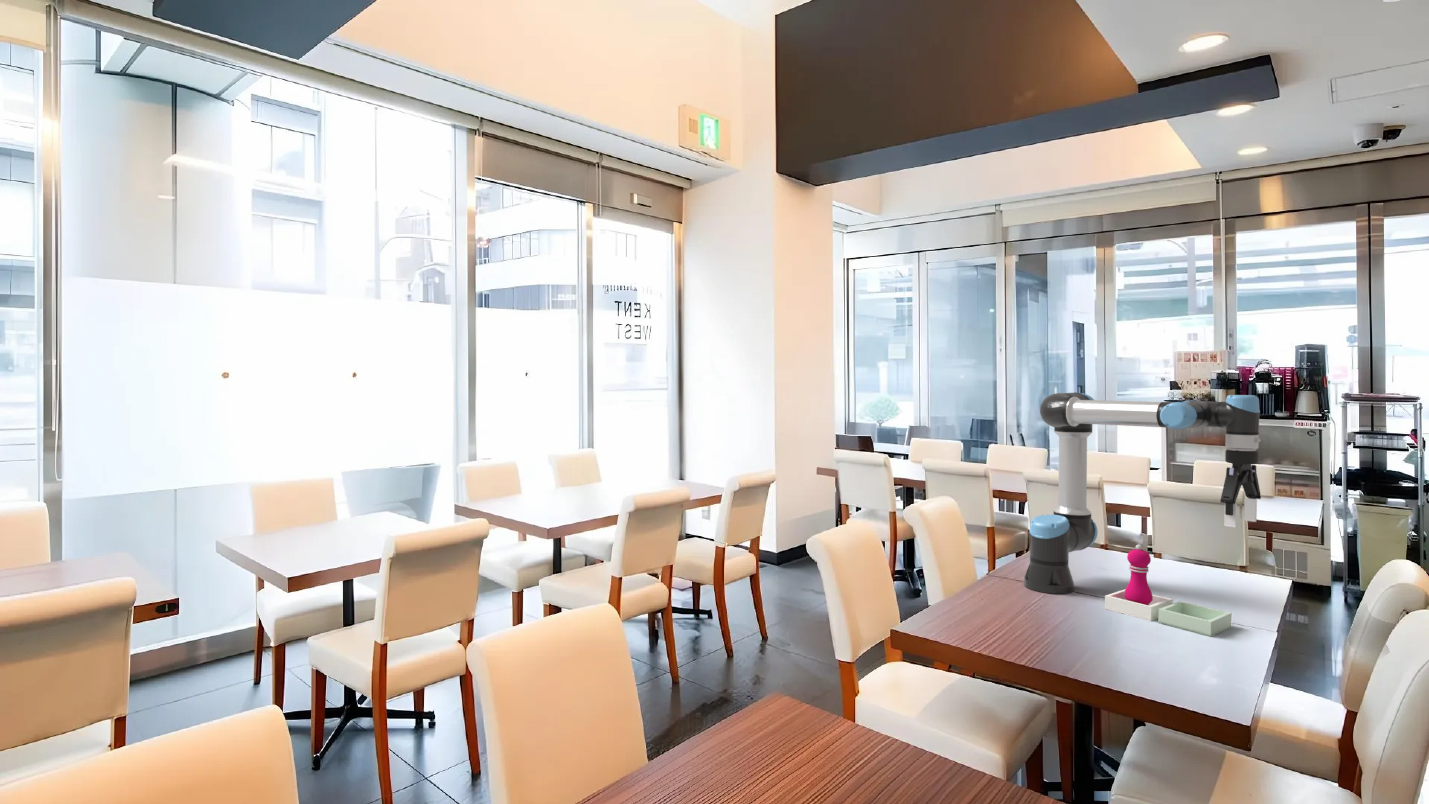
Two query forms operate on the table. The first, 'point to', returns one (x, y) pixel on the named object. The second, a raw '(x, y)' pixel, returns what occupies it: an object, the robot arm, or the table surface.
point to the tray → (1195, 618)
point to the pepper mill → (1138, 577)
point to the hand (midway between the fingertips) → (1240, 523)
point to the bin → (1135, 605)
